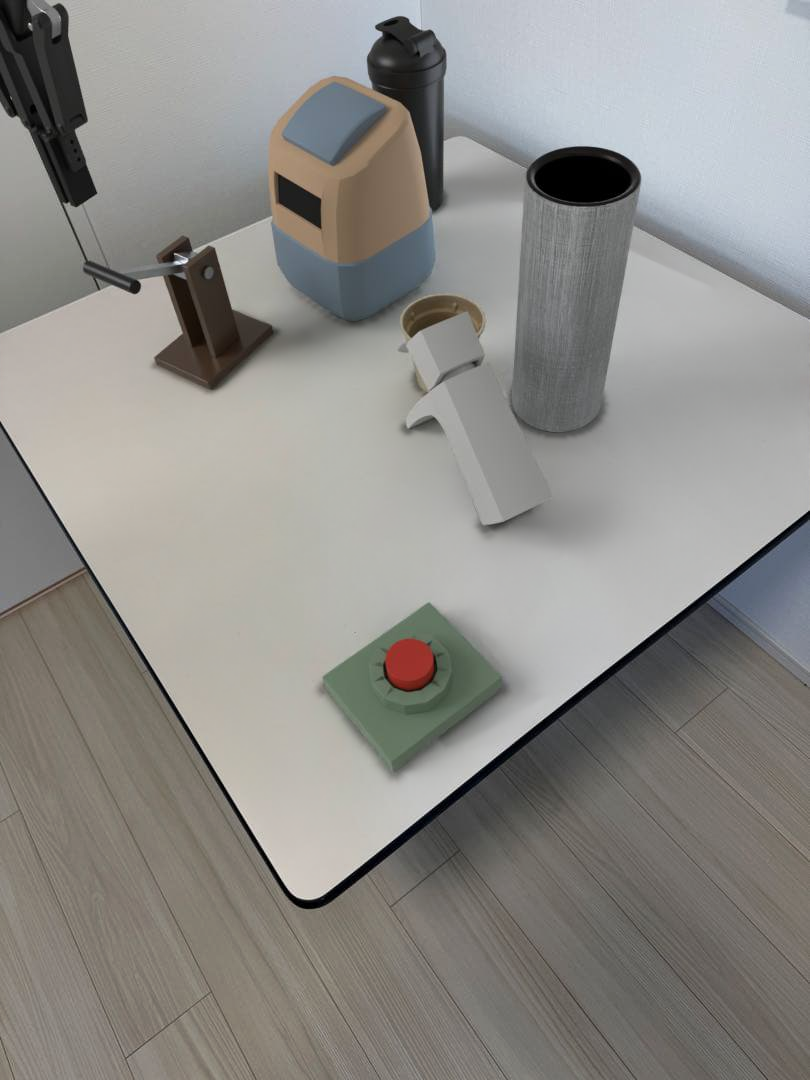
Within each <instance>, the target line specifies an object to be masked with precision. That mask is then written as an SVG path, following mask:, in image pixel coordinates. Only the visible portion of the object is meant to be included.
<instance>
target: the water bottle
mask: <svg viewBox="0 0 810 1080" xmlns="http://www.w3.org/2000/svg"><path fill="white" fill-rule="evenodd" d="M374 29H375V30H376V31H378V32H381V36H380V37H378V38H377V39H376V40H375V41H374V43H373V44H372V46H371V48H370V51H369V52H368V53H367V56H366V67H367V75H368V79H369V81H370V82H371V89H372V90H375V91H377V92H379V93H381V94H383V95H385V96H387V97H390V98H392V99H394V100H396V101H398V102H400V103H401V104H402V105H403V106H404V107H405V108H406V109H407V110H408V111H409V113H410V116H411V120H412V123H413V127H414V130H415V134H416V137H417V141H418V144H419V148H420V151H421V157H422V163H423V169H424V176H425V182H426V188H427V194H428V201H429V207H430V208H431V209H432V213H434V212H435V211H437V210H438V209H439V208H440V207H441V206H442V205H443V202H444V165H445V163H444V158H445V157H444V155H445V154H444V152H445V151H444V149H445V148H444V147H445V146H444V145H445V144H444V143H445V142H444V141H445V139H444V137H445V76H446V74H447V68H448V59H447V58H448V57H447V56H448V55H447V51H446V49H445V47H444V46H443V45H442V43H441V41H440V40H439V39H438V38H437V36H436V33H435V32H434V31H433V30H432V29H426V30H424V29H420V28H418V27H417V26H415V25H414V24H412V22H411V21H410V19H409V18H408V17H407V16H404V15H397V16H392V17H391V18H388V19H386V20H382V21H381V22H379V23H377V24H376V25H374Z"/></svg>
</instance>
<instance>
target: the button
mask: <svg viewBox="0 0 810 1080" xmlns="http://www.w3.org/2000/svg"><path fill="white" fill-rule="evenodd" d="M385 661H386V668H387V674H388V677H389V679H390V681H391V682H392V683H393V684H394V685H395V686H397V687H398V688H401V689H404V690H416V689H419V688H421V687H423V686H425V685H426V684H427V683H428V682H429V681H430V680H431V678H432V676H433V673H434V660H433V653H432V651H431V649H430V648H429V646H428V645H427V644H425V643H424V642H422V641H420V640H417V639H410V638H409V639H403V640H400V641H398V642H396V643H395V644H393V645H392V646H391V647H390V649H389V650H388V652H387V654H386V660H385Z"/></svg>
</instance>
